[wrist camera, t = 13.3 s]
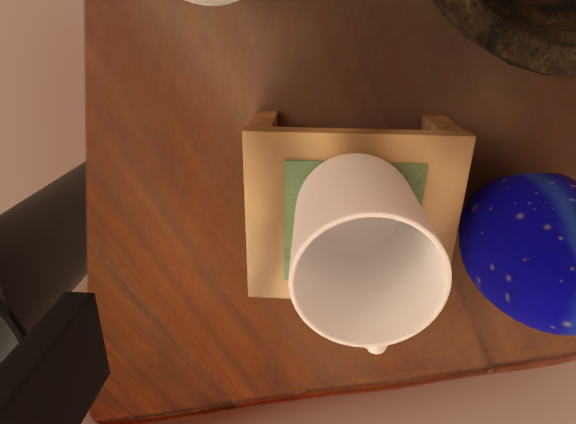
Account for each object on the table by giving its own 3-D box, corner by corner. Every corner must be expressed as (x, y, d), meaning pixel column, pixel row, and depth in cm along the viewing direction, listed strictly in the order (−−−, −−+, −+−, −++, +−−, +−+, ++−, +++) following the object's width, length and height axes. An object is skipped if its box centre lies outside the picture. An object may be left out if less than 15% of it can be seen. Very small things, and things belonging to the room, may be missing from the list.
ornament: (543, 259, 40) (658, 382, 27) (444, 268, 42) (507, 391, 28) (555, 148, 36) (700, 228, 22) (444, 162, 37) (519, 246, 23)
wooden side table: (258, 251, 42) (247, 298, 35) (255, 109, 36) (241, 131, 29) (422, 257, 41) (443, 306, 34) (445, 113, 35) (478, 136, 28)
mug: (417, 286, 34) (456, 390, 24) (313, 298, 35) (313, 402, 25) (406, 140, 29) (450, 200, 19) (286, 159, 30) (273, 225, 20)
